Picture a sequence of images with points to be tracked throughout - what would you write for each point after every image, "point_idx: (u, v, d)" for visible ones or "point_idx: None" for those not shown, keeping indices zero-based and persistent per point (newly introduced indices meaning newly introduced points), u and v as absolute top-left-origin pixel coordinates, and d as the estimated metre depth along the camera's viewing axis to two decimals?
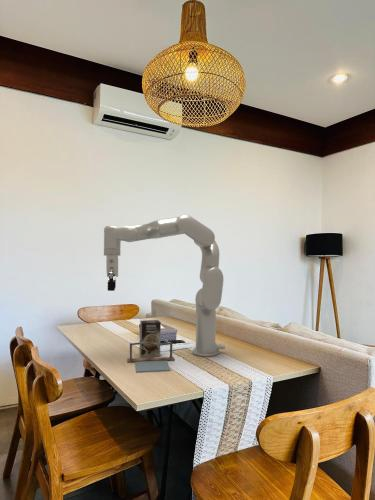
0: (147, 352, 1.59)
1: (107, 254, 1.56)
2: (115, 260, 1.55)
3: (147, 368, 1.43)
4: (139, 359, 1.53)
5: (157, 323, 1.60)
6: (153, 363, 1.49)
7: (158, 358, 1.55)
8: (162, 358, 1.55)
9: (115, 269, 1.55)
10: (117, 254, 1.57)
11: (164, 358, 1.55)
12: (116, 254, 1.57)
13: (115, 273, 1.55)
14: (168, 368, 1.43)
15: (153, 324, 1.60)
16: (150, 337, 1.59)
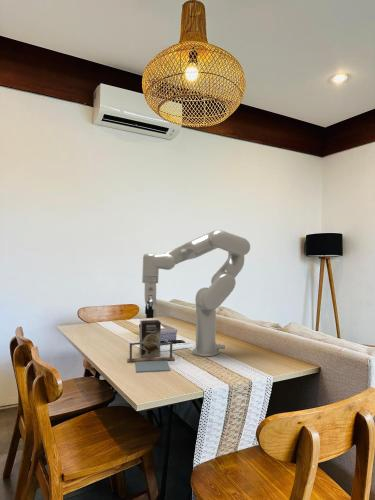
0: (147, 352, 1.59)
1: (146, 282, 1.59)
2: (154, 288, 1.58)
3: (147, 368, 1.43)
4: (139, 359, 1.53)
5: (157, 323, 1.60)
6: (153, 363, 1.49)
7: (158, 358, 1.55)
8: (162, 358, 1.55)
9: (154, 297, 1.58)
10: (156, 282, 1.60)
11: (164, 358, 1.55)
12: (155, 282, 1.60)
13: (154, 301, 1.58)
14: (168, 368, 1.43)
15: (153, 324, 1.60)
16: (150, 337, 1.59)
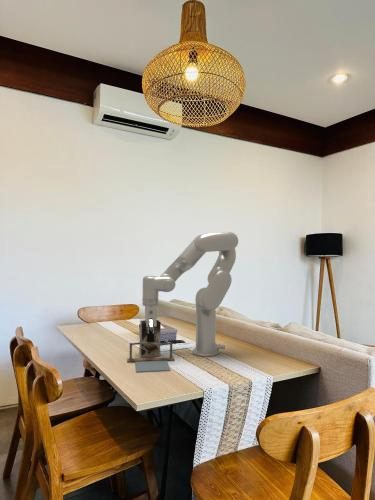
0: (147, 352, 1.59)
1: (146, 305, 1.59)
2: (154, 311, 1.58)
3: (147, 368, 1.43)
4: (139, 359, 1.53)
5: (157, 323, 1.60)
6: (153, 363, 1.49)
7: (158, 358, 1.55)
8: (162, 358, 1.55)
9: (154, 320, 1.58)
10: (156, 304, 1.60)
11: (164, 358, 1.55)
12: (155, 304, 1.60)
13: (154, 324, 1.58)
14: (168, 368, 1.43)
15: None
16: None
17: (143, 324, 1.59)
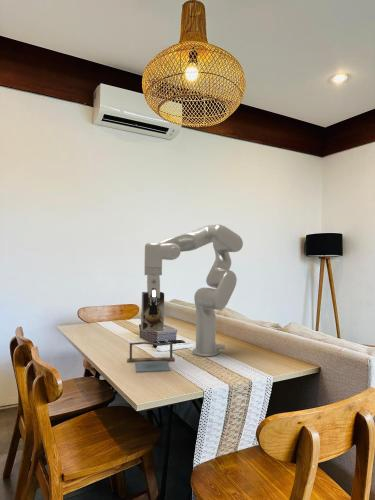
0: (150, 326, 1.45)
1: (149, 274, 1.45)
2: (157, 280, 1.44)
3: (147, 368, 1.43)
4: (139, 359, 1.53)
5: (160, 294, 1.46)
6: (153, 363, 1.49)
7: (158, 358, 1.55)
8: (162, 358, 1.55)
9: (157, 290, 1.43)
10: (159, 274, 1.46)
11: (164, 358, 1.55)
12: (158, 274, 1.45)
13: (157, 294, 1.43)
14: (168, 368, 1.43)
15: None
16: None
17: (145, 295, 1.44)
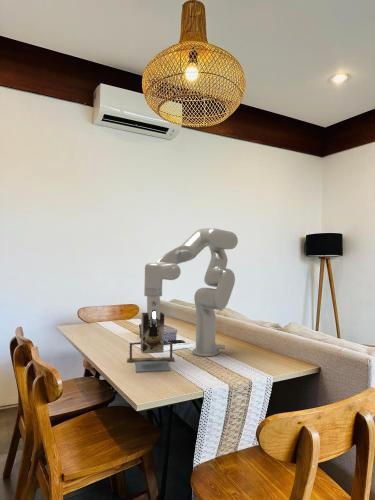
0: (150, 348, 1.43)
1: (149, 295, 1.43)
2: (158, 302, 1.42)
3: (147, 368, 1.43)
4: (139, 359, 1.53)
5: (160, 315, 1.44)
6: (153, 363, 1.49)
7: (158, 358, 1.55)
8: (162, 358, 1.55)
9: (158, 312, 1.42)
10: (159, 295, 1.44)
11: (164, 358, 1.55)
12: (158, 295, 1.44)
13: (158, 316, 1.42)
14: (168, 368, 1.43)
15: None
16: None
17: (145, 316, 1.42)
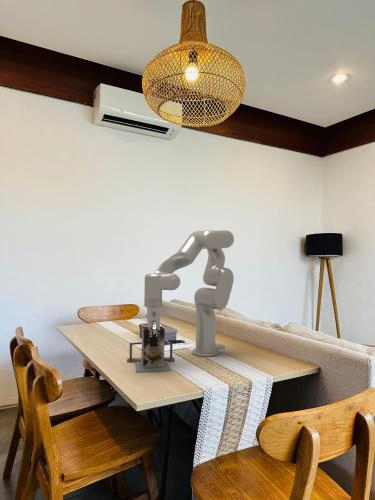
0: (150, 362, 1.43)
1: (149, 306, 1.43)
2: (158, 313, 1.42)
3: (147, 368, 1.43)
4: (139, 359, 1.53)
5: (160, 330, 1.44)
6: None
7: None
8: None
9: (158, 323, 1.42)
10: (159, 305, 1.44)
11: (164, 358, 1.55)
12: (158, 305, 1.44)
13: (158, 327, 1.42)
14: (168, 368, 1.43)
15: None
16: None
17: (145, 331, 1.43)
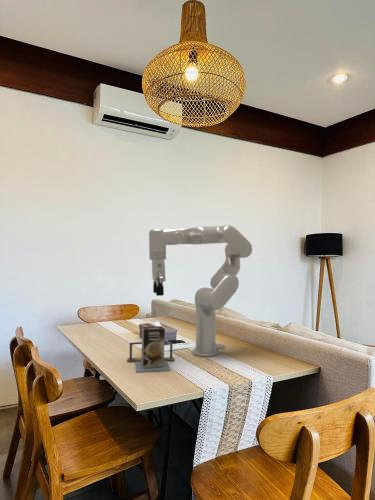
0: (150, 362, 1.43)
1: (154, 258, 1.52)
2: (163, 264, 1.52)
3: (147, 368, 1.43)
4: (139, 359, 1.54)
5: (160, 330, 1.44)
6: None
7: None
8: None
9: (163, 273, 1.52)
10: (164, 258, 1.54)
11: (164, 358, 1.55)
12: (163, 258, 1.53)
13: (163, 277, 1.52)
14: (168, 368, 1.43)
15: (156, 331, 1.44)
16: (153, 345, 1.43)
17: (145, 331, 1.43)
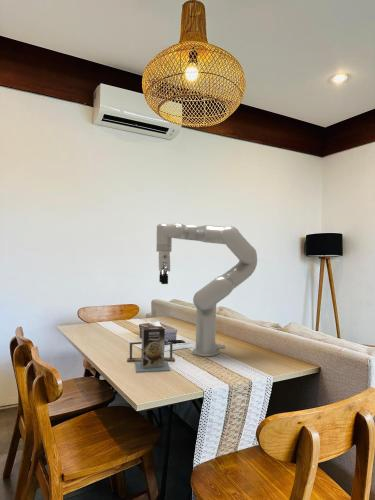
0: (150, 362, 1.43)
1: (160, 250, 1.68)
2: (168, 256, 1.68)
3: (147, 368, 1.43)
4: (139, 358, 1.54)
5: (160, 330, 1.44)
6: None
7: None
8: None
9: (168, 264, 1.67)
10: (169, 250, 1.70)
11: (164, 358, 1.55)
12: (168, 250, 1.69)
13: (168, 268, 1.67)
14: (168, 368, 1.43)
15: (156, 331, 1.44)
16: (153, 345, 1.43)
17: (145, 331, 1.43)
